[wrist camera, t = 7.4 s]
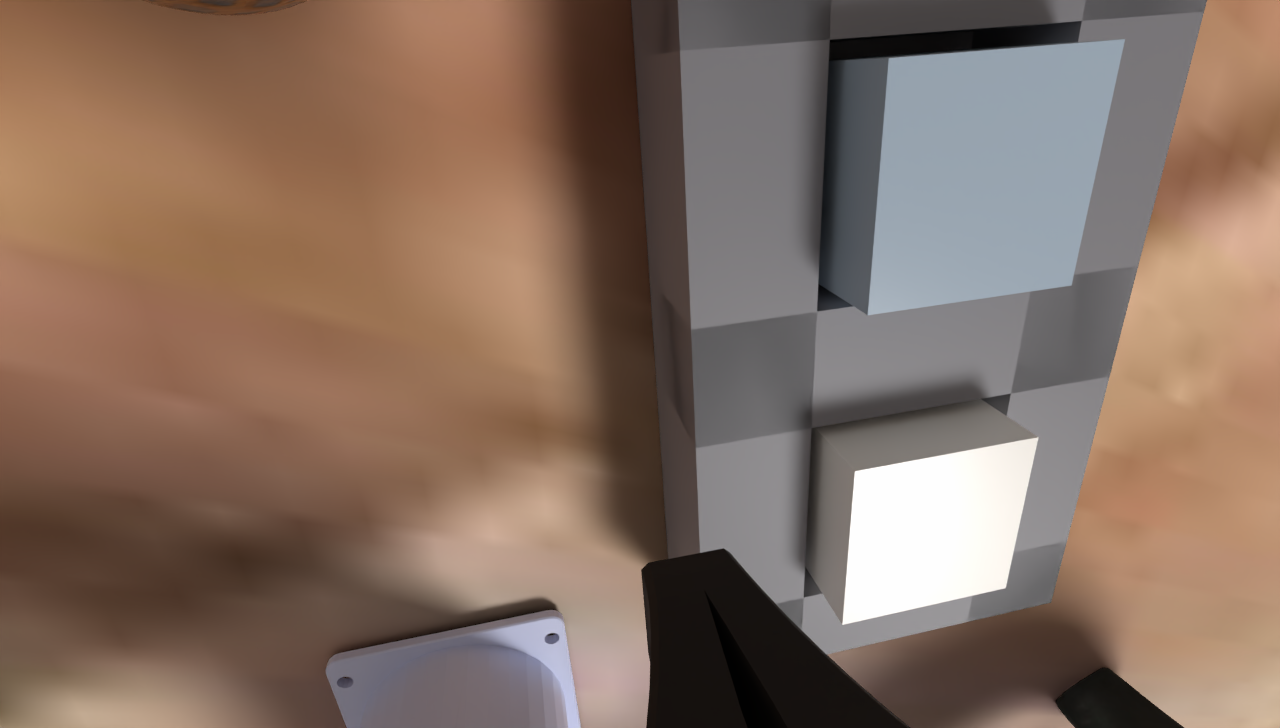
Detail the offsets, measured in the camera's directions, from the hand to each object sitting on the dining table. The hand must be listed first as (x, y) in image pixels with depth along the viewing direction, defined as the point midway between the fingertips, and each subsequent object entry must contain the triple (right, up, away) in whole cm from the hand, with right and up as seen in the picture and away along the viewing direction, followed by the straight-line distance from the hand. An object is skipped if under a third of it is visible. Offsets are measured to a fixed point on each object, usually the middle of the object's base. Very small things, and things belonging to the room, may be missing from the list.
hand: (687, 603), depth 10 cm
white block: (+6, +1, +10) cm, 12 cm away
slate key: (+6, +9, +7) cm, 13 cm away
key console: (+6, +6, +10) cm, 13 cm away
